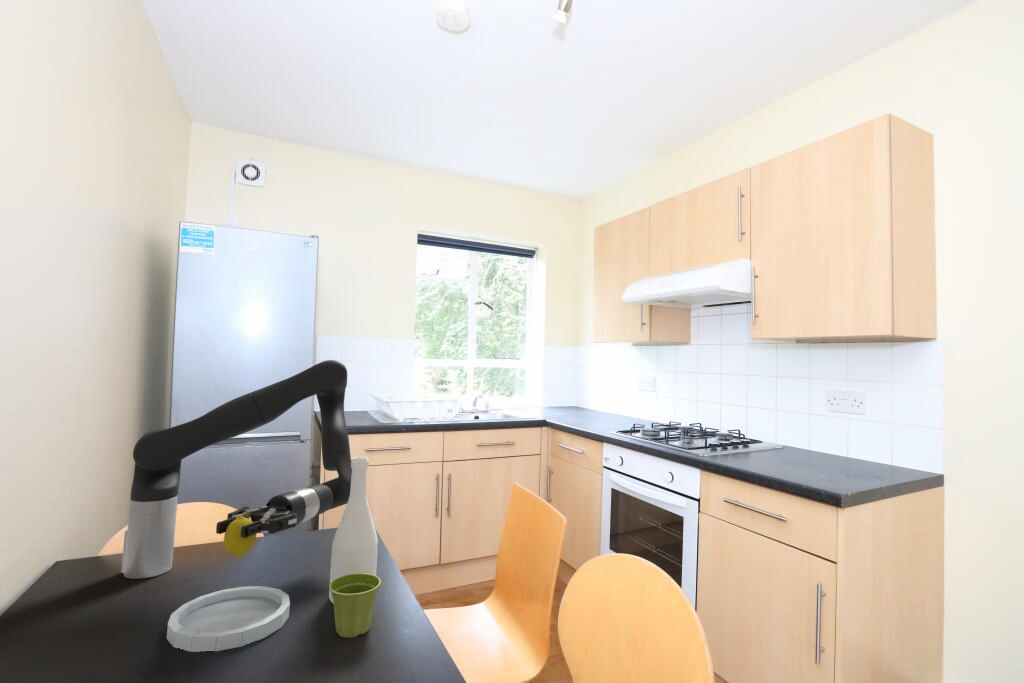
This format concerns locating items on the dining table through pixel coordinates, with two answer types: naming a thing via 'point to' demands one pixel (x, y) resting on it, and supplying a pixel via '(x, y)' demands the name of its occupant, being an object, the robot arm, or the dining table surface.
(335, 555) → the wine bottle
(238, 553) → the lemon
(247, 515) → the robot arm
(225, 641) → the dish
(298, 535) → the dining table surface
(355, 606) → the plant pot
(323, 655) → the dining table surface
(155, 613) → the dining table surface
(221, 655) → the dining table surface
